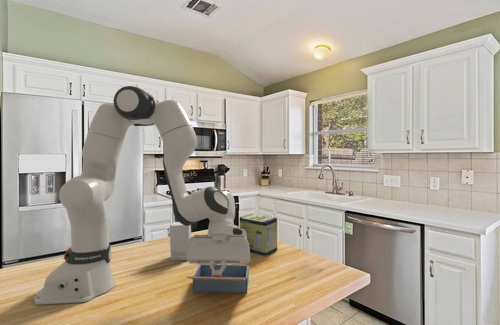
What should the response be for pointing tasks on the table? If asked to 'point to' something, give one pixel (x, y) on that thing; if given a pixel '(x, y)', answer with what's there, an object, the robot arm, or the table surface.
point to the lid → (215, 278)
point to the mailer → (222, 285)
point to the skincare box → (179, 241)
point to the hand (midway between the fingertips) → (216, 276)
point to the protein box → (260, 233)
